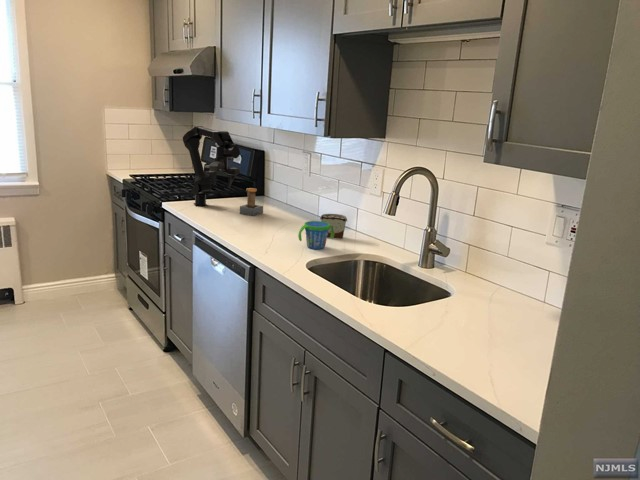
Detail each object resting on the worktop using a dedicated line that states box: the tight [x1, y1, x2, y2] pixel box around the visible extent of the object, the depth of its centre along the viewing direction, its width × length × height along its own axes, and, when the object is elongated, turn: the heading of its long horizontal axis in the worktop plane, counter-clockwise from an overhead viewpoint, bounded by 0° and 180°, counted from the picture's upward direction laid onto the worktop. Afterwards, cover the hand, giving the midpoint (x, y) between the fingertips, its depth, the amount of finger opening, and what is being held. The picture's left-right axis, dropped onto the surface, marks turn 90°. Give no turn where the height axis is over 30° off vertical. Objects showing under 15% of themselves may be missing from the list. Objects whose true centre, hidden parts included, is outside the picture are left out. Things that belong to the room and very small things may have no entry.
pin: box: [245, 187, 258, 208], centre depth 263 cm, size 5×5×13 cm
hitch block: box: [239, 203, 264, 217], centre depth 264 cm, size 9×9×4 cm
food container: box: [319, 213, 348, 240], centre depth 228 cm, size 12×6×10 cm, turn 84°
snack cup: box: [298, 220, 335, 250], centre depth 209 cm, size 16×10×10 cm
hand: (221, 186), depth 263 cm, fingers open, 9 cm apart
